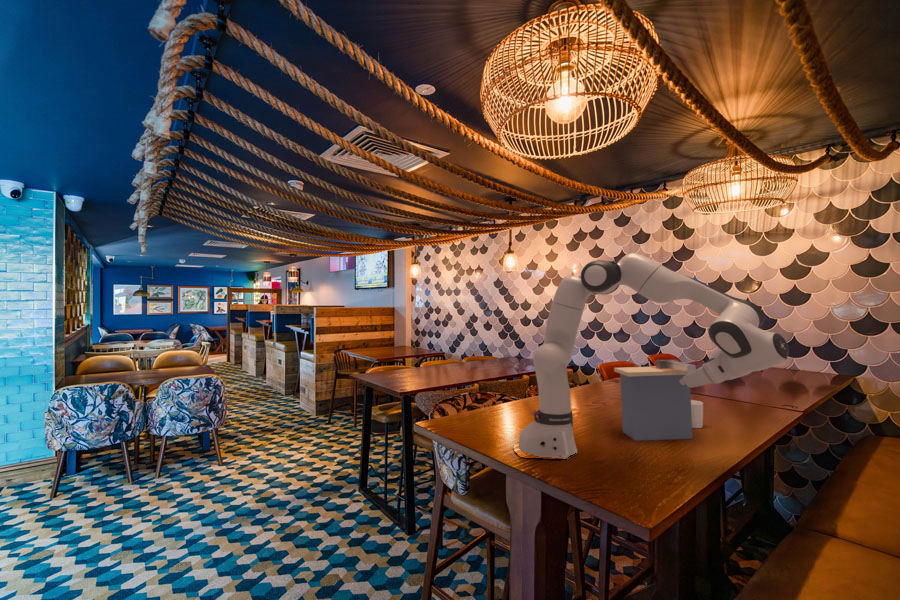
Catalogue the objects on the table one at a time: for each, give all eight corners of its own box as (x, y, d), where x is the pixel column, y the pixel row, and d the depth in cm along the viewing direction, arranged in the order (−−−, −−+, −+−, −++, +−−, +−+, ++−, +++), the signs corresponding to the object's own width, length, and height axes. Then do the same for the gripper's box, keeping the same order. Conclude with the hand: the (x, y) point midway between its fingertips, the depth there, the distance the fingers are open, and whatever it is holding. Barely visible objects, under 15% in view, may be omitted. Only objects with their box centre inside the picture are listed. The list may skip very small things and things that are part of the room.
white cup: (704, 424, 159) (702, 400, 159) (704, 429, 152) (703, 405, 152) (682, 422, 163) (681, 399, 163) (681, 427, 156) (680, 403, 157)
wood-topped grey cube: (631, 441, 141) (628, 372, 142) (616, 431, 153) (614, 367, 154) (699, 439, 141) (696, 369, 142) (680, 429, 153) (676, 365, 154)
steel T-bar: (680, 374, 134) (680, 365, 134) (655, 367, 150) (655, 360, 150) (702, 373, 134) (702, 365, 134) (675, 367, 150) (675, 359, 150)
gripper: (738, 345, 119) (701, 359, 131) (703, 364, 110) (666, 378, 122) (752, 363, 117) (712, 376, 129) (716, 384, 108) (677, 396, 120)
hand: (689, 377), depth 125 cm, fingers open, 8 cm apart
